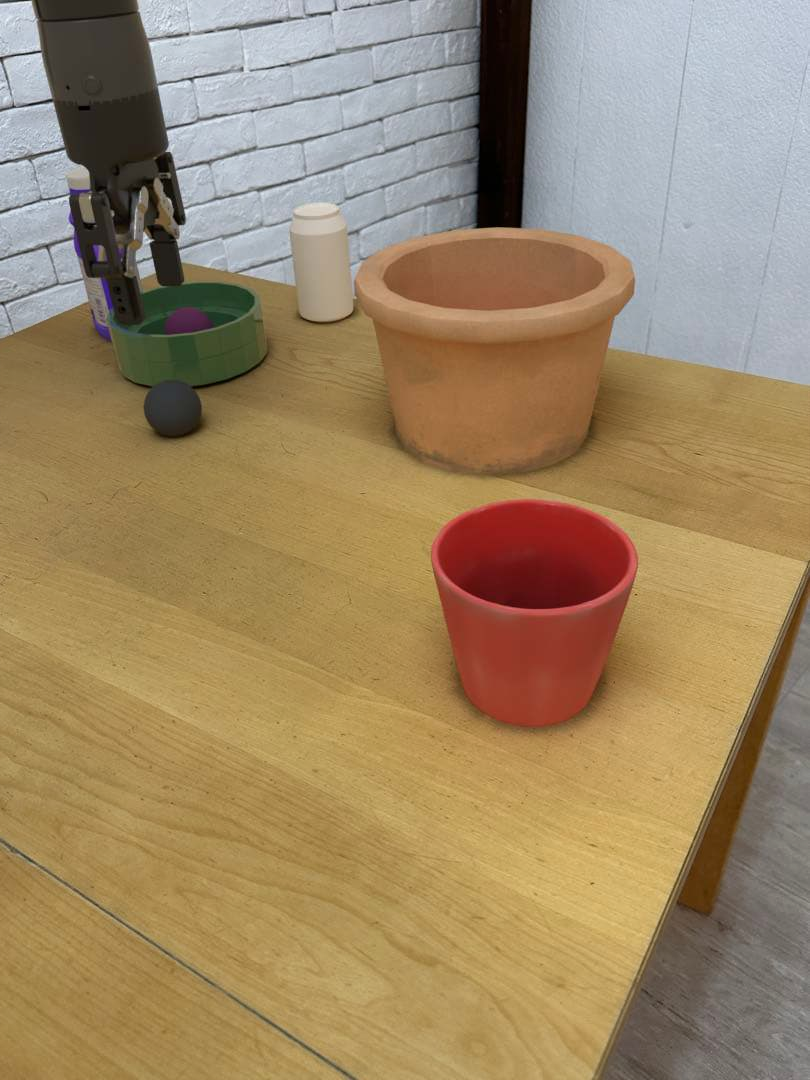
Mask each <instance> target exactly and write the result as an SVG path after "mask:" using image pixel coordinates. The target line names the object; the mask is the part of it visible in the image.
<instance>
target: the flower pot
mask: <svg viewBox="0 0 810 1080" xmlns="http://www.w3.org/2000/svg"><path fill="white" fill-rule="evenodd" d="M430 562H431V566H432V567H431V568H432V573H433V577H434V580H435V585H436V588H437V593H438V596H439V600H440V604H441V608H442V613H443V617H444V621H445V624H446V629H447V634H448V638H449V642H450V645H451V649H452V652H453V656H454V659H455V660H454V661H455V663H456V667H457V670H458V674H459V677H460V681H461V684H462V688H463V690H464V693H465V695H466V697H467V699H468V700H469V701H470V702H471V703H472V704H473V705H474V706H475V708H477V709H478V710H479V711H481V712H482V713H483V714H485V715H487V716H488V717H489V718H491V719H494V720H496V721H499V722H502V723H505V724H507V725H512V726H517V727H524V728H525V727H527V728H537V727H538V728H539V727H547V726H552V725H553V726H554V725H557V724H560V723H563V722H566V721H568V720H570V719H571V718H573V717H575V716H576V715H578V714H579V713H580V712H581V711H582V710H584V709H585V708H586V706H587V705H588V704H589V702H590V700H591V698H592V697H593V694H594V692H595V689H596V687H597V684H598V683H599V680H600V678H601V675H602V672H603V671H604V668H605V665H606V663H607V660H608V657H609V655H610V653H611V649H612V647H613V643H614V642H615V639H616V636H617V633H618V631H619V627H620V625H621V622H622V619H623V616H624V614H625V610H626V608H627V605H628V602H629V599H630V595H631V594H632V590H633V587H634V583H635V580H636V577H637V573H638V568H639V556H638V552H637V550H636V547H635V545H634V543H633V541H632V539H631V538H630V537H629V535H628V534H627V533H626V532H625V531H624V530H623V529H622V528H621V527H620V526H618V525H617V524H616V523H615V522H613V521H612V520H610V519H609V518H607V517H605V516H603V515H601V514H599V513H597V512H595V511H593V510H590V509H587V508H585V507H582V506H580V505H575V504H572V503H567V502H564V501H563V502H562V501H557V500H549V499H537V498H520V499H508V500H502V501H496V502H492V503H488V504H483V505H481V506H477V507H474V508H473V509H470V510H468V511H465V512H463V513H461V514H459V515H457V516H456V517H454V518H452V519H451V520H450V521H449V522H447V523H446V524H445V525H444V526H443V527H442V528H441V529H440V531H439V532H438V533H437V535H436V536H435V538H434V540H433V542H432V545H431V549H430Z"/></svg>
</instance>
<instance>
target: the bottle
mask: <svg viewBox="0 0 810 1080" xmlns="http://www.w3.org/2000/svg"><path fill="white" fill-rule="evenodd" d="M65 178H66V182H67V187H68V191H69V195H70V194H72V193H88V192H90V178H89V171H88V170H87V169H86V168H85V167H82V168H77V169H73V170H71V171H69V172H67V173H66V174H65ZM68 222H69V223H70V225H71V226H72V227H73V247H74V251H75V253H76V257H77V261H78V264H79V268H80V272H81V276H82V280H83V284H84V288H85V292H86V296H87V300H88V304H89V308H90V313H91V316H92V322H93V324H94V325H93V326H94V327H95V329H96V331H97V332H98V334H99V335H100V336H101V337H102V338H103V339H105V340H107V341H110V342H112V341H111V337H110V333H109V329H108V324H107V320H106V319H107V316H108V313H109V310H110V309H111V308H113V305H112V301H111V297H110V293H109V289H108V285H107V282H106V280H105V279H104V278H88V277H87V276H86V273H85V269H84V265H83V261H82V256H81V252H80V248H79V243H78V239H77V235H76V230H75V226H74V222H73V217H72V213H71V209H69V214H68ZM115 234H116V232H115ZM93 247H94V251H95V256H96V260H97V261H98V251H99V246H98V245H93ZM122 252H123V249H119V253H120V258H121V261H122ZM134 276H136V277H137V281H138V285H139V290H140V292H142V291H144V289H143V285H142V281H141V277H140V272H139V267H138V262H137V258H136V257H135V273H134Z"/></svg>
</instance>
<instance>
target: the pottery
mask: <svg viewBox="0 0 810 1080" xmlns="http://www.w3.org/2000/svg"><path fill="white" fill-rule="evenodd" d="M635 286H636V278H635V272H634V269H633V266H632V262H631V259H629V258H628V257H627V256H625V255H624V254H622V253H621V252H620V251H618V250H617V249H615V248H614V247H612V246H611V245H608V244H606V243H604V242H603V243H602V242H600V241H597V240H594V239H590V238H588V237H585V236H581V235H578V234H574V233H567V232H561V231H554V230H547V229H541V228H524V227H523V228H522V227H497V226H495V227H483V228H482V227H481V228H480V227H479V228H467V229H466V228H465V229H454V230H448V231H443V232H438V233H432V234H426V235H421V236H416V237H413V238H410V239H407V240H404V241H402V242H401V241H400V242H398V243H395V244H392V245H390V246H386V247H384V248H382V249H381V250H378V252H376V253H374V254H373V255H371V256H369V257H368V258H366V259H365V260H363V261H362V262H361V264H360V266H359V267H358V271H357V273H356V275H355V277H354V279H353V289H354V296H355V298H356V300H357V303H358V304H359V305H360V307H361V309H362V311H363V313H364V315H365V316H367V317H369V318H370V319H372V323H373V326H374V331H375V336H376V341H377V346H378V349H379V354H380V355H379V356H380V360H381V365H382V369H383V373H384V377H385V383H386V387H387V392H388V393H387V394H388V397H389V401H390V406H391V412H392V416H393V421H394V425H395V434H396V436H397V437H398V439H399V442H400V444H401V445H402V446H401V447H402V448H403V449H404V450H405V451H407V452H408V453H410V454H411V455H413V456H414V457H415V458H417V459H418V460H419V461H421V462H422V463H425V464H428V465H431V466H434V467H437V468H440V469H444V470H446V471H449V472H452V473H462V474H468V475H469V474H471V475H478V476H479V475H480V476H487V477H489V476H501V475H514V474H516V475H517V474H525V473H528V472H529V473H530V472H532V471H536V470H539V469H543V468H547V467H550V466H555V465H556V464H558V463H560V462H561V461H563V460H564V459H567V458H568V457H570V456H572V455H573V454H575V453H576V452H578V451H579V449H580V448H581V446H582V445H583V443H584V442H585V440H586V439H587V437H589V428H590V424H591V420H592V416H593V411H594V407H595V403H596V399H597V395H598V390H599V386H600V382H601V378H602V374H603V370H604V369H603V368H604V365H605V361H606V356H607V352H608V348H609V343H610V341H611V340H610V339H611V335H612V331H613V327H614V323H615V319H616V316H618V315H620V313H621V312H622V311H623V310H624V308H625V307H626V305H627V304H628V303H629V302H630V300H631V299H632V298H633V296H634V294H635Z"/></svg>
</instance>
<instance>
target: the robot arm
mask: <svg viewBox="0 0 810 1080" xmlns="http://www.w3.org/2000/svg"><path fill="white" fill-rule="evenodd" d="M30 1H31V7H32V10H33V13H34V17H35V19H37V20H36V26H37V31H38V37H39V46H40V47H39V48H40V53H41V60H42V63H43V67H44V71H45V75H46V79H47V85H48V88H49V91H50V96H51V99H52V102H53V107H54V110H55V116H56V118H57V119H56V120H57V123H58V126H59V130H60V135H61V138H62V142H63V146H64V150H65V154H66V156H67V159H69V161H71V163H73V164H75V165H78V166H80V165H81V166H82V167H83V168H86V169H87V170H88V171H89V178H90V192H88V193H72V194H70V193H69V196H68V203H69V208H70V209H69V210H71V213H72V217H73V222H74V226H75V230H76V235H77V239H78V243H79V248H80V252H81V256H82V261H83V265H84V269H85V273H86V276H87V277H88V278H104V279H105V280H106V282H107V285H108V289H109V293H110V297H111V301H112V305H113V309H114V313H115V317H116V320H117V322H118V323H120V324H122V325H139V324H141V323H142V322H143V321H144V320H145V318H146V316H145V311H144V307H143V303H142V298H141V294H140V290H139V285H138V281H137V277H136V276H134V273H135V258H136V255H137V251H138V250H140V249H141V248H142V247H143V243H144V233H145V235H146V236H147V238H148V239H149V240H150V241H151V240H152V241H151V242H149V249H150V253H151V257H152V261H153V262H152V263H153V267H154V272H155V276H156V280H157V283H158V284H159V285H160V286H180V285H181V284H182V283H183V282H185V273H184V268H183V264H182V259H181V254H180V250H179V245H178V244H179V243H178V240H179V239H180V235H181V231H180V228H179V227H180V226H185V225H186V223H187V217H186V211H185V207H184V203H183V198H182V193H181V188H180V183H179V179H178V175H177V170H176V166H175V160H174V156H173V153H172V152H171V151H168V149H169V145H170V144H169V143H170V142H169V137H168V131H167V128H166V127H167V126H166V121H165V116H164V110H163V106H162V101H161V96H160V91H159V86H158V81H157V76H156V70H155V65H154V59H153V54H152V50H151V46H150V45H151V44H150V42H149V39H148V35H147V32H146V29H145V25H144V23H143V20H142V15H141V12H140V11H139V10H140V7H139V1H138V0H30ZM115 232H116V234H115ZM93 245H98V246H99V251H98V261H97V260H96V256H95V251H94V247H93ZM119 249H123V252H122V261H121V258H120V253H119Z"/></svg>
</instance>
